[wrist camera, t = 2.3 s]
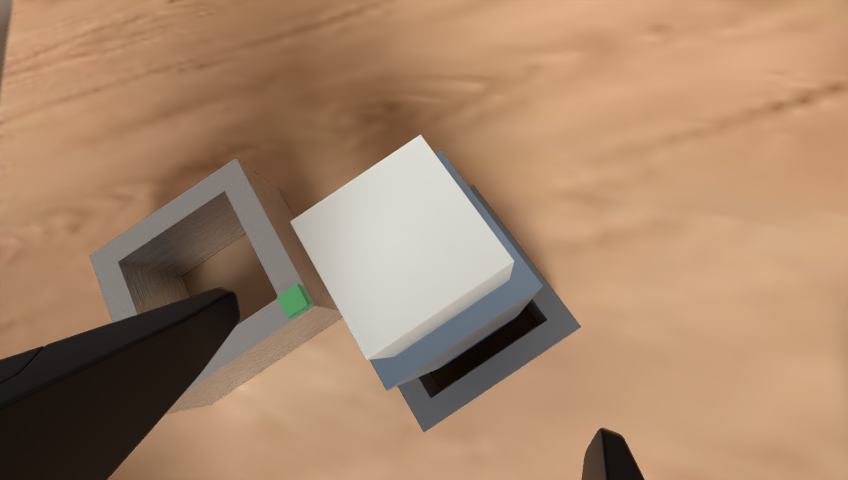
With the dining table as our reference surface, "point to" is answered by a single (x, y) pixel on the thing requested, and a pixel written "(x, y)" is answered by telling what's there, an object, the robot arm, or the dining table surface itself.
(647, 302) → the dining table surface
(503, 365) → the frame
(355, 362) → the dining table surface
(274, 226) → the socket block
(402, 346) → the plug
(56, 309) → the dining table surface
